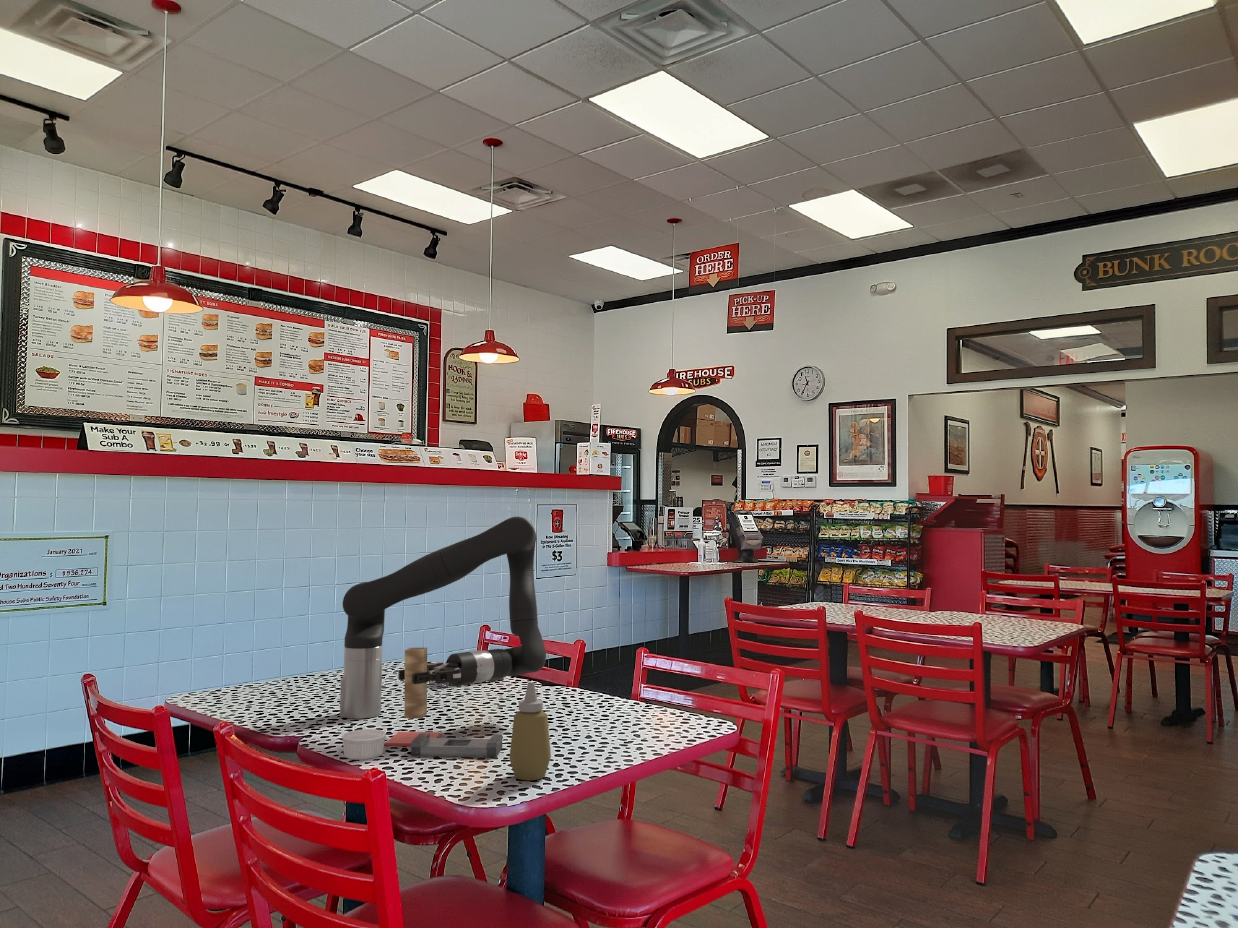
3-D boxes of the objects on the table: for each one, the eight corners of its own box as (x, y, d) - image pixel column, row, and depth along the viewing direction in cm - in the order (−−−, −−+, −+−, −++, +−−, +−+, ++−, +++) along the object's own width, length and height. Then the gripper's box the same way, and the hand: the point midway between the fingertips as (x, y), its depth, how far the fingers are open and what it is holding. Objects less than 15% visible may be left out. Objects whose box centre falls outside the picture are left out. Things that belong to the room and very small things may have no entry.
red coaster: (384, 745, 186) (385, 742, 186) (398, 733, 196) (398, 731, 196) (430, 746, 185) (430, 743, 185) (441, 734, 195) (441, 732, 195)
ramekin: (391, 756, 178) (391, 735, 178) (348, 763, 173) (348, 741, 173) (378, 747, 185) (378, 726, 185) (336, 753, 180) (337, 732, 181)
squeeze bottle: (544, 784, 160) (545, 687, 161) (503, 781, 161) (504, 685, 162) (555, 771, 167) (556, 679, 169) (516, 769, 169) (517, 677, 170)
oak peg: (404, 718, 189) (404, 650, 190) (409, 714, 193) (409, 647, 194) (422, 718, 189) (422, 650, 190) (426, 714, 193) (427, 647, 194)
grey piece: (411, 755, 178) (411, 741, 178) (420, 746, 185) (420, 732, 185) (496, 757, 177) (496, 742, 177) (502, 748, 184) (502, 734, 184)
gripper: (454, 648, 207) (390, 656, 195) (487, 655, 196) (422, 664, 185) (454, 679, 206) (390, 689, 195) (487, 687, 196) (421, 699, 184)
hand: (406, 677), depth 190 cm, fingers closed on oak peg, 5 cm apart
